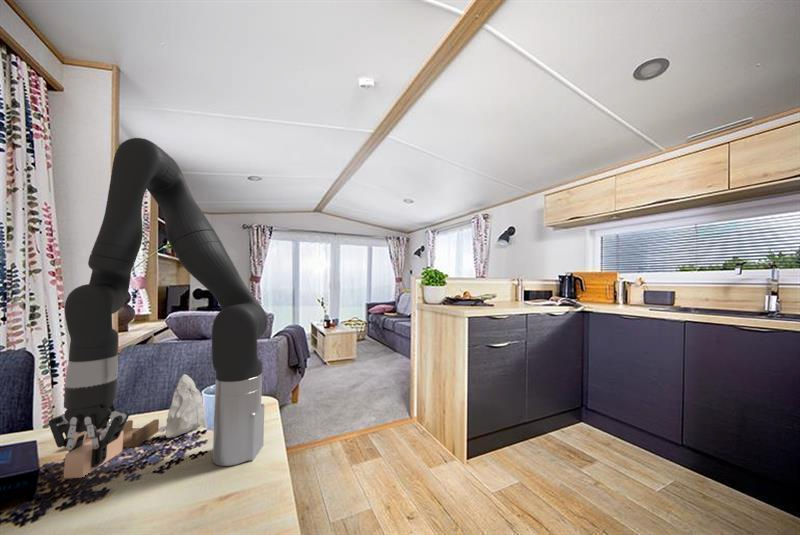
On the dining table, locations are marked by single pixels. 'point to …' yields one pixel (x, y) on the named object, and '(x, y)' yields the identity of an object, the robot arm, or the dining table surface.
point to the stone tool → (185, 408)
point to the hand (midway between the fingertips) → (87, 465)
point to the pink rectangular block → (88, 458)
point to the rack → (135, 433)
